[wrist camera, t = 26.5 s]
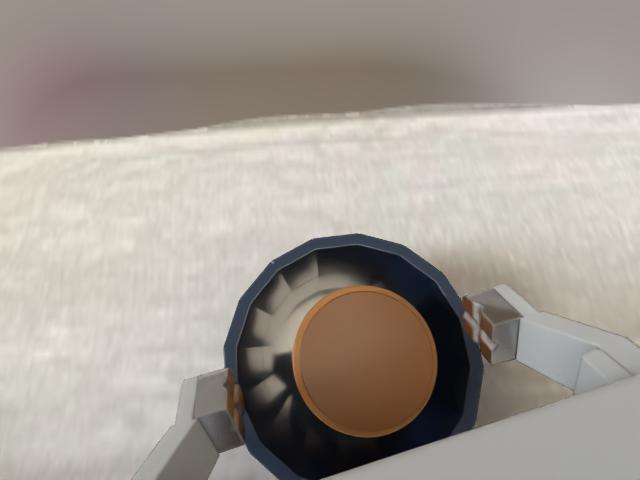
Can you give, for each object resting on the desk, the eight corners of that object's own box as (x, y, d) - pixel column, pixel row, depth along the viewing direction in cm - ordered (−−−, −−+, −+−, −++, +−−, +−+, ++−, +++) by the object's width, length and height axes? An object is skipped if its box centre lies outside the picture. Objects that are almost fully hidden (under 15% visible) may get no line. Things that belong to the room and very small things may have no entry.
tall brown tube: (309, 406, 22) (299, 452, 13) (299, 312, 23) (283, 292, 14) (401, 393, 22) (457, 430, 13) (385, 300, 24) (425, 274, 14)
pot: (262, 463, 22) (231, 524, 14) (249, 276, 25) (218, 249, 17) (449, 438, 22) (511, 486, 15) (413, 256, 25) (450, 221, 18)
